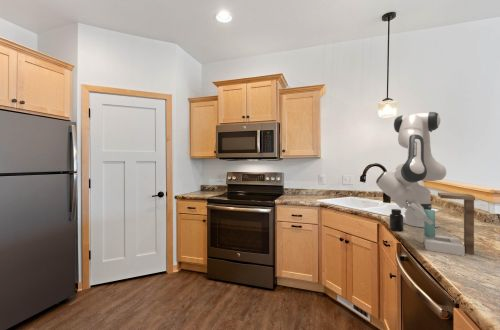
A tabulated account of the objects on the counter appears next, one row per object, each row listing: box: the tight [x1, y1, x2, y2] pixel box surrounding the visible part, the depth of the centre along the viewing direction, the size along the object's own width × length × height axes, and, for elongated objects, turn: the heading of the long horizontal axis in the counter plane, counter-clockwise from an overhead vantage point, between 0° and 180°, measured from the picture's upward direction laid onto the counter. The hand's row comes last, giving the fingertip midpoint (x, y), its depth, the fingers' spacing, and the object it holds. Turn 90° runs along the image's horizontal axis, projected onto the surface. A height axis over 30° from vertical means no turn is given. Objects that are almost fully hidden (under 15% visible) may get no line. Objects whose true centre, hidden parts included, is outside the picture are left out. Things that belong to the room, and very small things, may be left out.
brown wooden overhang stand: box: [437, 192, 476, 255], centre depth 103 cm, size 10×11×25 cm
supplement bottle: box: [389, 208, 405, 233], centre depth 135 cm, size 7×7×12 cm
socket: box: [422, 233, 466, 257], centre depth 106 cm, size 13×13×4 cm
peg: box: [423, 209, 436, 237], centre depth 108 cm, size 4×4×12 cm
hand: (431, 222), depth 108 cm, fingers closed on peg, 4 cm apart
